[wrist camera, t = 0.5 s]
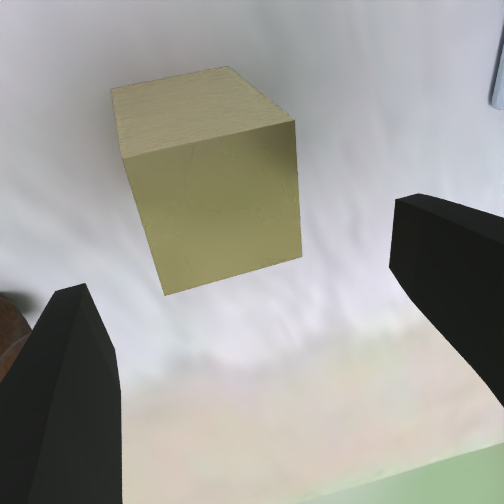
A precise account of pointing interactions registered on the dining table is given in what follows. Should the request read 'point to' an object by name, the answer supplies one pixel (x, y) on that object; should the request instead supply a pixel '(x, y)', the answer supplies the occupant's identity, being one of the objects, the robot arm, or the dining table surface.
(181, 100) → the square peg
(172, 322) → the dining table surface
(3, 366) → the bolt
